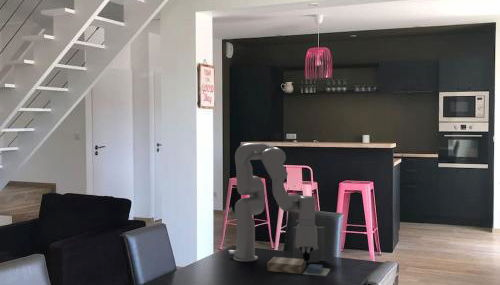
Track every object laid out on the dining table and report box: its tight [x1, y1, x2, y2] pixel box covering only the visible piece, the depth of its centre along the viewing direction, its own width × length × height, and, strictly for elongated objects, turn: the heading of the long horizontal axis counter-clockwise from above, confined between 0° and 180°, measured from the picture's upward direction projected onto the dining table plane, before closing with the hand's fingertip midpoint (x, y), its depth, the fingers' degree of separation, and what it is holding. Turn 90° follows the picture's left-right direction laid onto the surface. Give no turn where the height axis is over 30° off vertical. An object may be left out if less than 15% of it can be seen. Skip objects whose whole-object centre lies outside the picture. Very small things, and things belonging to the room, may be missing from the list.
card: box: [305, 263, 324, 274], centre depth 255 cm, size 6×9×2 cm, turn 163°
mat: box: [301, 267, 331, 277], centre depth 254 cm, size 11×13×1 cm
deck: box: [266, 256, 307, 275], centre depth 258 cm, size 16×12×4 cm
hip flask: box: [292, 226, 326, 263], centre depth 274 cm, size 16×4×20 cm, turn 94°
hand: (306, 260), depth 256 cm, fingers closed
